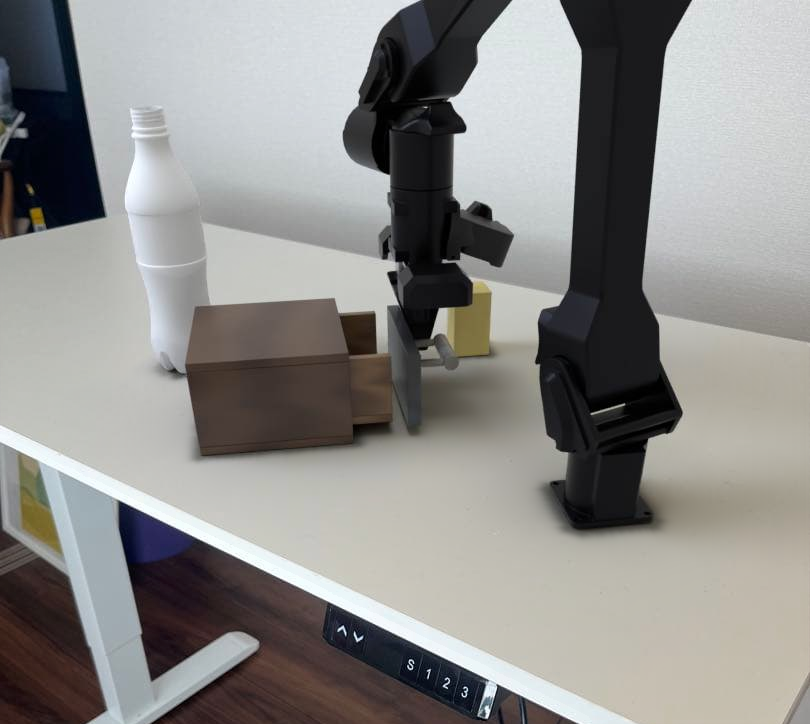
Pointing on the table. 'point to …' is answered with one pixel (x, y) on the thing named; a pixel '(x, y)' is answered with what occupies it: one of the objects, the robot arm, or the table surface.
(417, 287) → the robot arm
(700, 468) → the table surface
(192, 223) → the water bottle
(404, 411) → the drawer
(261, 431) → the cabinet
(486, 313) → the block
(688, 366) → the table surface
